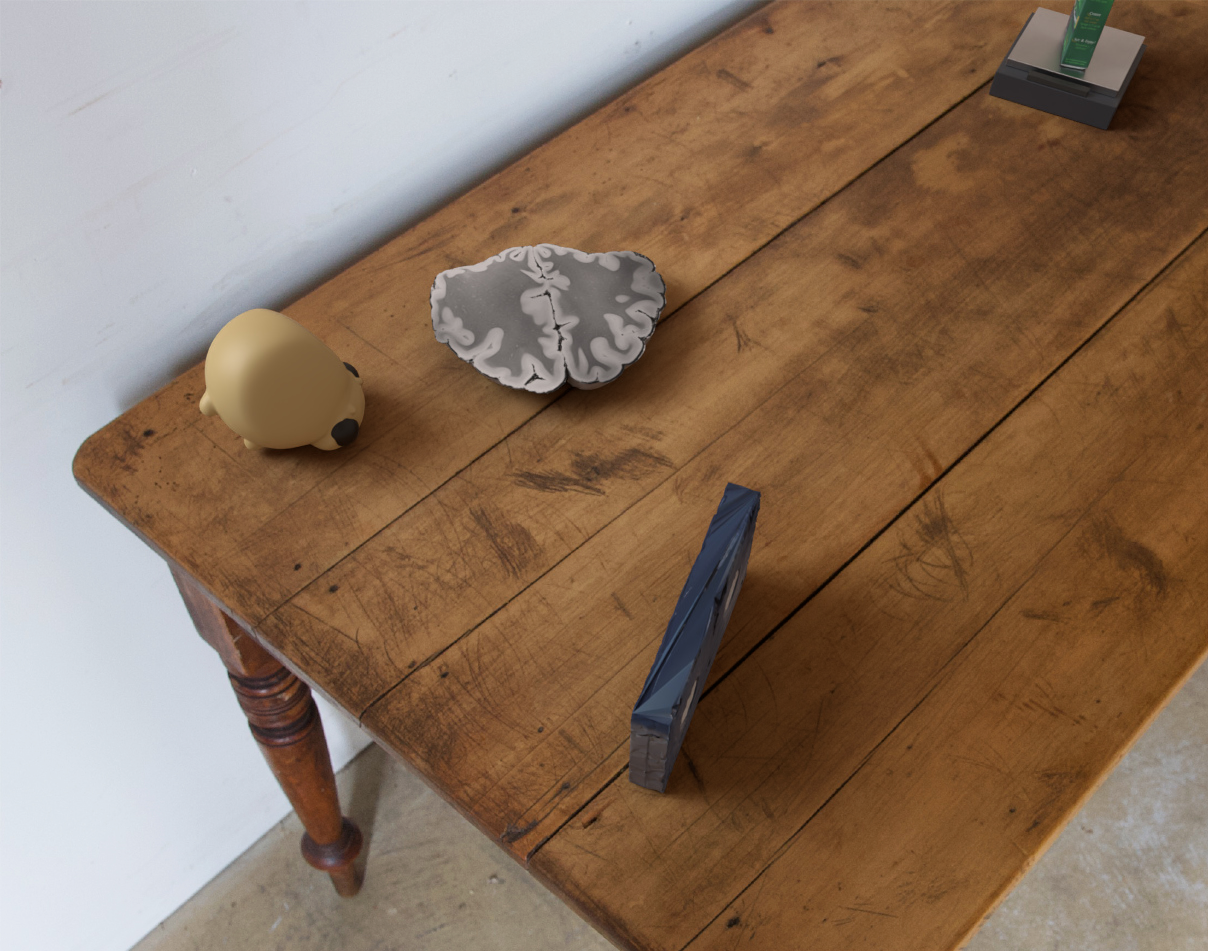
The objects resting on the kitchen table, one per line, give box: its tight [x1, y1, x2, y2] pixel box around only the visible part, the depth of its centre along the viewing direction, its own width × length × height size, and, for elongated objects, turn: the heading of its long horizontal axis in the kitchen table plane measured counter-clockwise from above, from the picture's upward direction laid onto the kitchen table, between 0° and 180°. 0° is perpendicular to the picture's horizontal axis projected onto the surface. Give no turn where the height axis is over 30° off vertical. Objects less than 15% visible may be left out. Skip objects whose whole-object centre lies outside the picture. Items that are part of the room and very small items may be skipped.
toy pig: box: [199, 307, 366, 452], centre depth 84 cm, size 10×12×11 cm
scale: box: [988, 6, 1148, 131], centre depth 112 cm, size 12×12×3 cm
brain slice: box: [428, 242, 667, 394], centre depth 92 cm, size 20×17×3 cm
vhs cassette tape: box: [628, 482, 762, 794], centre depth 72 cm, size 18×3×10 cm, turn 157°
